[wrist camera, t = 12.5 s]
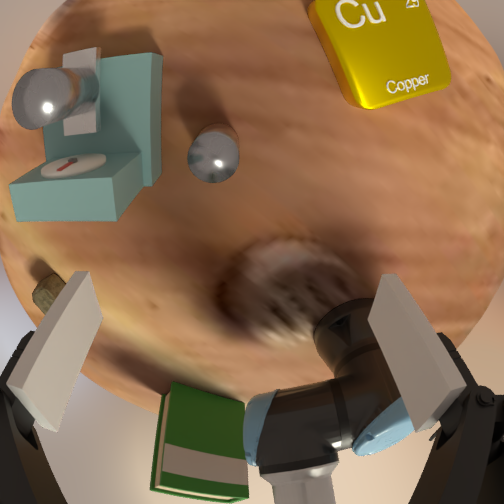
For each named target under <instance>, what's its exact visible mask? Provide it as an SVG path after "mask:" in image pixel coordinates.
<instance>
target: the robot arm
mask: <svg viewBox="0 0 504 504" xmlns="http://www.w3.org/2000/svg"><path fill="white" fill-rule="evenodd" d="M102 320H103V316H102V313H101V309H100V306H99V303H98V300H97V297H96V293H95V290H94V287H93V283H92V280H91V276H90V272H88V271H75V272H74V274H73V275H72V276H71V278H70V279H69V281H68V282H67V284H66V285H65V286H64V288H63V289H62V291H61V292H60V294H59V295H58V297H57V298H56V300H55V301H54V303H53V304H52V306H51V307H50V309H49V310H48V312H47V313H46V315H45V316H44V318H43V320H42V321H41V323H40V324H39V326H38V328H37V329H36V331H30V332H29V333H28V334H26V335H25V336H24V337H23V338H22V339H21V341H20V343H19V344H18V346H17V349H16V350H15V351H14V353H13V354H12V357H11V358H10V360H9V362H8V363H7V365H6V367H5V369H4V371H3V372H2V374H1V376H0V504H68V503H67V502H66V500H65V498H64V496H63V494H62V492H61V490H60V488H59V485H58V483H57V482H56V479H55V477H54V475H53V473H52V470H51V468H50V466H49V463H48V461H47V458H46V456H45V453H44V451H43V448H42V446H41V443H40V440H39V437H38V435H37V432H36V430H35V428H34V426H33V423H34V421H35V420H36V421H37V422H38V423H39V424H40V426H41V427H43V428H46V429H49V430H52V431H55V432H58V429H59V426H60V423H61V420H62V418H63V415H64V412H65V409H66V406H67V404H68V401H69V398H70V396H71V393H72V390H73V388H74V385H75V382H76V380H77V378H78V375H79V373H80V370H81V368H82V365H83V363H84V360H85V358H86V356H87V353H88V351H89V349H90V346H91V344H92V342H93V340H94V337H95V335H96V333H97V331H98V329H99V326H100V324H101V322H102ZM314 341H315V345H316V349H317V352H318V354H319V355H320V357H321V358H322V359H323V360H324V362H325V363H326V364H327V366H328V367H329V368H330V370H331V371H332V372H333V374H334V377H335V378H334V379H330V380H326V381H322V382H317V383H313V384H308V385H303V386H298V387H293V388H288V389H282V390H280V389H276V390H275V391H272V392H268V393H263V394H258V395H256V396H254V397H252V398H251V399H250V401H249V402H248V404H247V407H246V410H245V415H244V422H243V446H244V450H245V457H246V460H247V462H248V464H250V465H252V466H259V473H260V476H261V477H262V478H263V479H265V480H266V481H268V482H269V483H270V484H271V485H272V489H273V495H274V502H275V504H336V503H335V497H334V491H333V485H332V479H331V474H332V471H333V470H334V469H335V468H336V466H337V465H338V463H339V458H338V453H337V452H338V451H340V450H344V449H348V448H352V450H353V452H354V453H355V454H356V455H358V456H364V455H371V454H374V453H377V452H379V451H382V450H384V449H386V448H388V447H390V446H392V445H394V444H396V443H398V442H399V441H401V440H402V439H404V438H405V437H406V436H408V435H409V434H410V433H411V432H412V431H414V430H415V432H420V431H423V430H426V429H430V428H432V427H433V426H434V425H435V423H436V422H437V421H438V420H439V421H440V424H441V427H440V428H439V429H438V430H437V431H436V432H435V433H434V434H433V435H432V436H431V437H430V439H429V441H432V440H433V439H434V438H435V437H436V438H435V441H434V443H433V446H432V449H431V452H430V454H429V458H428V460H427V462H426V465H425V467H424V470H423V472H422V475H421V478H420V479H419V482H418V484H417V486H416V488H415V491H414V493H413V495H412V497H411V499H410V502H409V503H408V504H504V395H495V394H494V393H493V392H492V391H491V389H489V388H487V387H486V386H478V384H477V383H476V381H475V380H474V378H473V376H472V375H471V373H470V371H469V369H468V368H467V366H466V364H465V362H464V361H463V359H461V356H460V355H459V353H458V351H456V348H455V346H454V345H453V343H452V341H451V340H450V339H449V338H448V337H446V336H445V335H444V334H443V333H442V332H441V333H436V332H435V330H434V329H433V327H432V326H431V324H430V323H429V321H428V319H427V318H426V316H425V315H424V313H423V312H422V310H421V309H420V307H419V306H418V304H417V303H416V301H415V300H414V298H413V297H412V296H411V294H410V293H409V291H408V290H407V288H406V287H405V286H404V284H403V283H402V281H401V280H400V278H399V277H398V276H397V274H382V276H381V279H380V283H379V286H378V289H377V293H376V296H375V299H358V300H353V301H350V302H347V303H345V304H342V305H340V306H338V307H337V308H335V309H333V310H332V311H331V312H329V313H328V314H327V315H326V316H325V317H324V318H323V319H322V320H321V321H320V323H319V324H318V326H317V328H316V330H315V334H314Z"/></svg>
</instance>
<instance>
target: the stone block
mask: <svg viewBox="0 0 504 504" xmlns="http://www.w3.org/2000/svg"><path fill="white" fill-rule="evenodd" d="M65 285H66V284H65V283H64V282H63V281H62V280H61V279H60V278H59V277H58V276H57V275H55V274H52V275H50V276H48V277H47V278H45V279H43V280H42V281H40V282H39V284H38V285H37V286H36V288H35V289H34V291H33V293H32V297H33V302H34V303H35V304H36V305H37V306H38V307H39V308H40V310H41V311H42V312H43V313H44V314H45V315H46V313H47V312H48V310H49V309H50V307H51V306H52V304H53V303H54V301H55V300H56V298H57V297H58V295H59V294H60V292H61V291H62V289H63V288H64V286H65Z"/></svg>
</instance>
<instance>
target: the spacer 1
mask: <svg viewBox="0 0 504 504" xmlns="http://www.w3.org/2000/svg"><path fill="white" fill-rule="evenodd" d="M99 88H100V87H99V81H98V78H97V76H96V75H95V73H94V72H93V71H91V70H90V69H87V68H42V69H33V70H31V71H29V72H27V73H26V74H24V75H23V76H22V77H21V79H20V80H19V81H18V83H17V85H16V87H15V89H14V92H13V96H12V110H13V114H14V117H15V119H16V121H17V122H18V123H19V124H20V125H21V126H22V127H24V128H26V129H30V130H33V129H38V128H40V127H43V126H46V125H49V124H52V123H55V122H58V121H61V120H64V119H67V118H70V117H73V116H76V115H80V114H83V113H85V112H87V111H88V110H90V109H91V108H92V107H93V105H94V104H95V102H96V100H97V98H98V95H99Z"/></svg>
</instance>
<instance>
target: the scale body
mask: <svg viewBox="0 0 504 504" xmlns="http://www.w3.org/2000/svg"><path fill="white" fill-rule="evenodd" d="M162 66H163V56H162V55H159V54H156V53H152V52H150V53H139V54H130V55H122V56H115V57H108V58H102V59H101V67H100V118H101V131H98V132H95V133H85V134H76V135H68V136H64V125H63V120H61V121H58V122H55V123H52V124H49V125H46V126H43V134H44V145H45V154H46V162H45V163H43V164H41V165H40V166H38V167H36V168H34V169H33V170H31V171H29V172H28V173H26V174H25V175H23V176H21V177H20V178H18V179H17V180H15V181H14V182H12V183H10V184H9V189H10V194H11V199H12V203H13V208H14V212H15V216H16V220H17V222H23V221H118V219H119V218H120V216H121V215H122V214H123V212H124V211H125V210H126V208H127V207H128V206H129V205H130V203H131V202H132V201H133V199H134V198H135V197H136V195H137V194H138V193H139V192H140V190H141V189H142V188H143V187H144V186H153V184H154V183H155V182H156V180H157V179H158V178H159V176H160V175H161V174H162V162H161V93H162ZM58 68H63V66H62V67H58Z"/></svg>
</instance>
